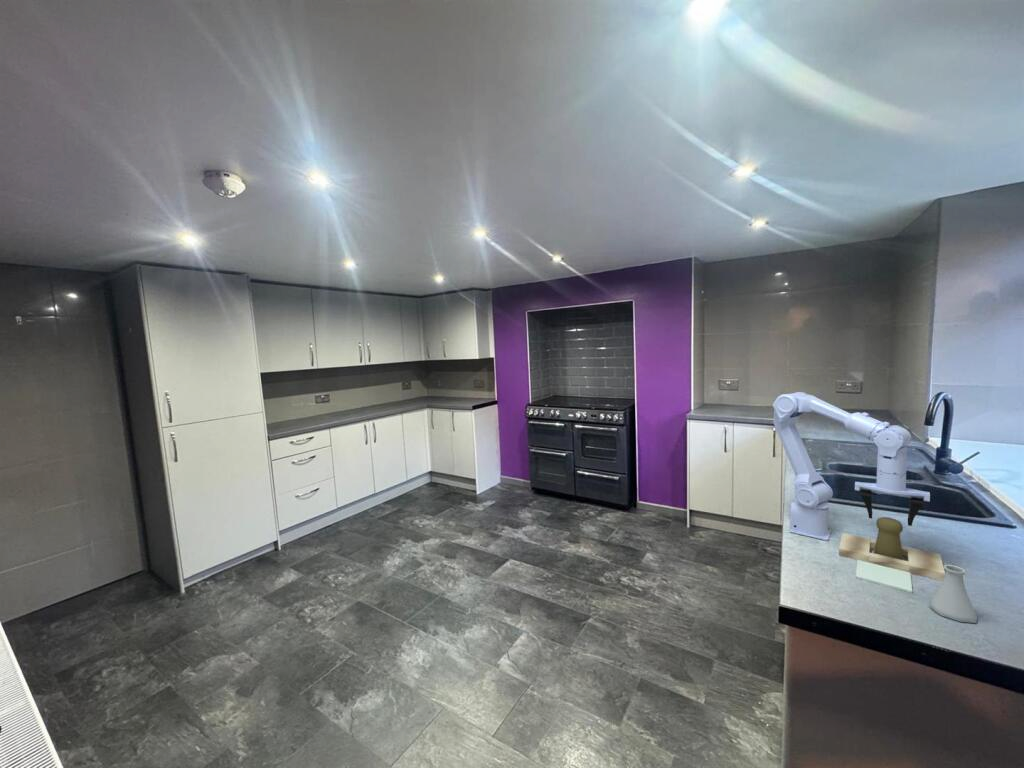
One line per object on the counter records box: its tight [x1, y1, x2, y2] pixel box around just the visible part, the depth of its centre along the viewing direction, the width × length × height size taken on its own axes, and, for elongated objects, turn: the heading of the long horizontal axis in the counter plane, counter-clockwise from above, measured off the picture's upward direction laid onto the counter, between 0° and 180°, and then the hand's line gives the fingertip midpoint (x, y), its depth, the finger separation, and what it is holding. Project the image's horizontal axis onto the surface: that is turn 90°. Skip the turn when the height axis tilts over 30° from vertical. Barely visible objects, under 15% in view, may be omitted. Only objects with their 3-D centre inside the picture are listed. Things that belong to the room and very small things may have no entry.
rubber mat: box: [855, 560, 913, 594], centre depth 100 cm, size 10×10×1 cm
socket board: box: [838, 532, 946, 582], centre depth 108 cm, size 20×12×2 cm, turn 47°
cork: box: [873, 516, 904, 560], centre depth 108 cm, size 6×6×11 cm
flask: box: [928, 564, 978, 624], centre depth 86 cm, size 7×7×10 cm
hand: (889, 520), depth 108 cm, fingers open, 7 cm apart
